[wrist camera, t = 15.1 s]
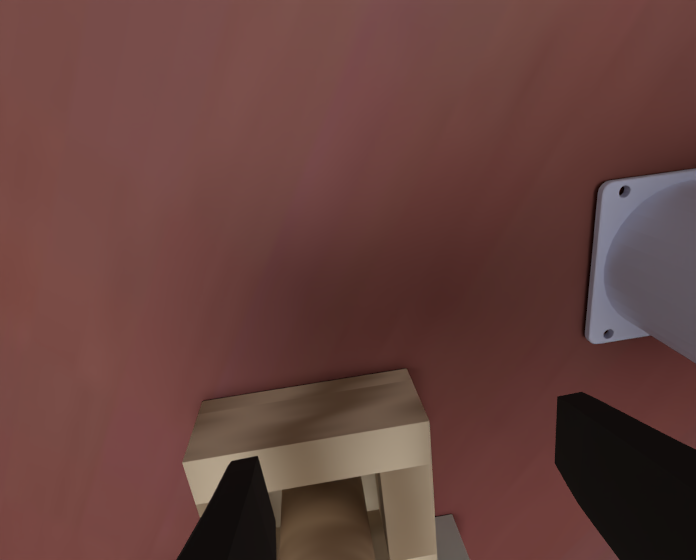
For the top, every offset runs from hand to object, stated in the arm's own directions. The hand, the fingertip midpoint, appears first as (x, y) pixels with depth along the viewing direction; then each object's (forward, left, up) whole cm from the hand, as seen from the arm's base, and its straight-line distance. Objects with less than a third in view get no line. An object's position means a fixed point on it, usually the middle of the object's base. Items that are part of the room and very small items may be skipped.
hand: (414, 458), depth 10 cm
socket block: (+3, +9, -10) cm, 14 cm away
